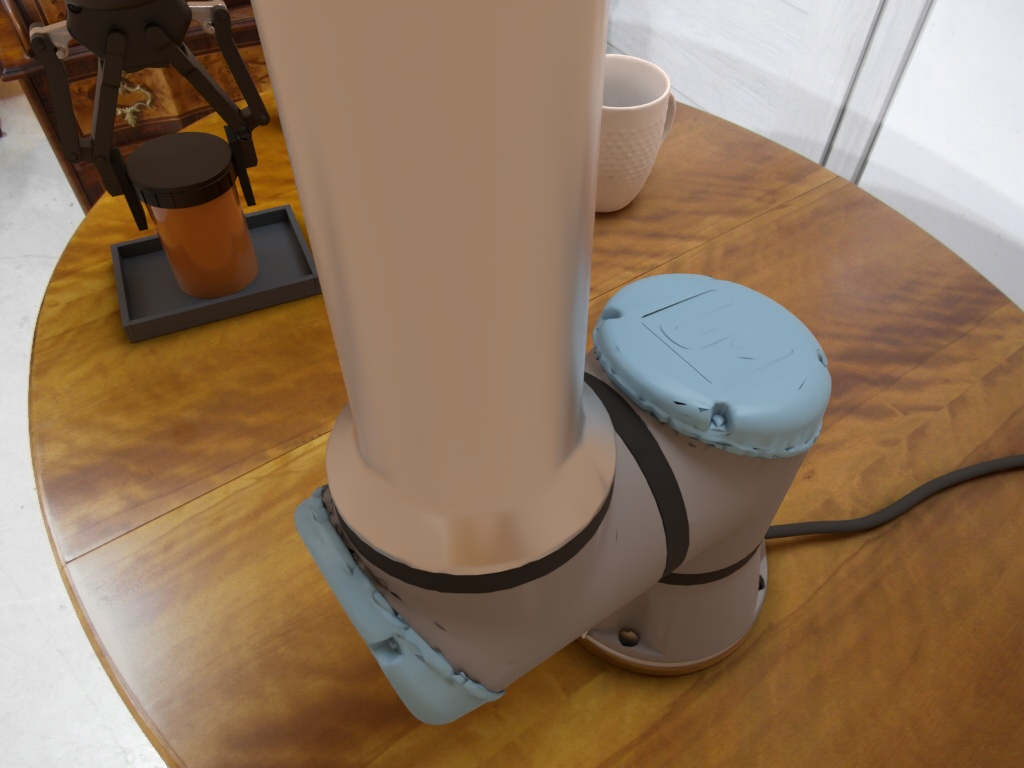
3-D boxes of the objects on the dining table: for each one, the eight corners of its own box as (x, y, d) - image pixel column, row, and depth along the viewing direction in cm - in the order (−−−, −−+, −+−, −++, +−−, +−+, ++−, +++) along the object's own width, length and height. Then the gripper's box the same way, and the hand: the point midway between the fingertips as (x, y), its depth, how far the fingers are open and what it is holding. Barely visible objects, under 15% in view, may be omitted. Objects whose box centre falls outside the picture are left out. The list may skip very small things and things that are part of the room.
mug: (626, 144, 90) (642, 32, 81) (696, 188, 85) (723, 72, 75) (528, 189, 84) (532, 73, 74) (597, 239, 78) (612, 121, 69)
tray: (293, 219, 80) (289, 203, 78) (324, 292, 72) (320, 276, 71) (117, 261, 75) (109, 244, 74) (131, 343, 68) (122, 327, 66)
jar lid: (219, 141, 70) (213, 121, 68) (252, 189, 65) (247, 168, 64) (120, 169, 67) (112, 148, 65) (148, 221, 62) (139, 200, 60)
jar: (250, 239, 77) (219, 133, 68) (267, 286, 72) (235, 178, 64) (171, 258, 75) (128, 151, 66) (182, 307, 70) (138, 199, 61)
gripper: (249, -107, 57) (304, 161, 74) (-78, -70, 51) (65, 212, 68) (271, -71, 52) (325, 205, 70) (-84, -26, 46) (70, 264, 64)
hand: (196, 209), depth 69 cm, fingers closed on jar lid, 8 cm apart
